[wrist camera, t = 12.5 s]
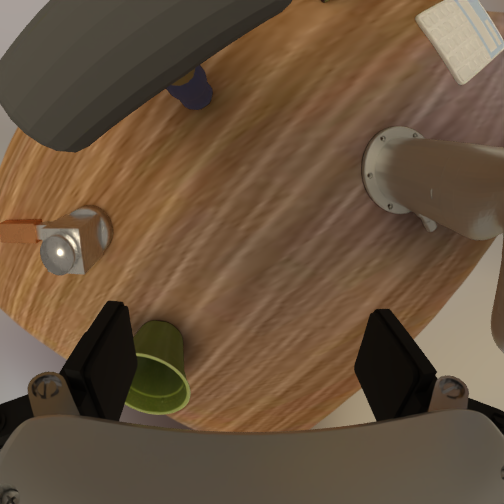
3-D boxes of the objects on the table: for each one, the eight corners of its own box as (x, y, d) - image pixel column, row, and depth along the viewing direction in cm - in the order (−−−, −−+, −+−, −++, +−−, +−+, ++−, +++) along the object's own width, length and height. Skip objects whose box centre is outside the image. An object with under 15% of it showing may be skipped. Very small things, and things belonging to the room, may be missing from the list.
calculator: (410, 18, 31) (416, 15, 29) (464, -11, 27) (470, -13, 25) (457, 87, 35) (464, 87, 33) (502, 47, 31) (508, 46, 29)
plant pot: (137, 293, 43) (114, 338, 32) (209, 326, 45) (205, 377, 35) (117, 347, 46) (97, 393, 35) (180, 374, 49) (173, 424, 38)
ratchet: (111, 204, 38) (94, 215, 32) (115, 253, 40) (100, 269, 35) (5, 207, 36) (-16, 217, 31) (11, 249, 38) (-8, 262, 33)
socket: (100, 214, 36) (72, 233, 28) (103, 254, 38) (79, 280, 30) (65, 214, 35) (34, 232, 28) (70, 252, 37) (42, 277, 30)
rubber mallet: (174, 148, 36) (26, 179, 8) (141, 104, 34) (-37, 54, 5) (255, 91, 34) (332, -34, 6) (222, 47, 32) (211, -127, 4)
